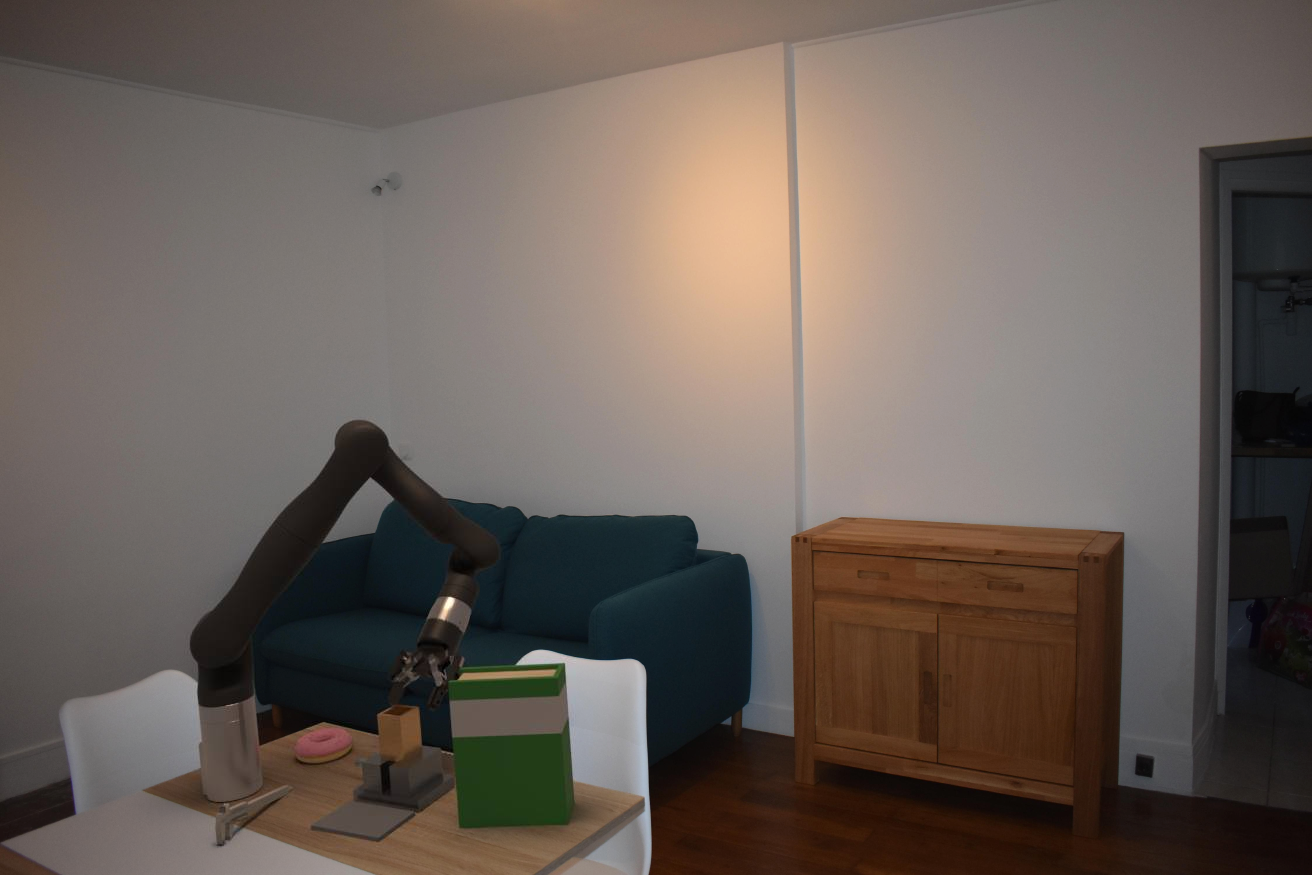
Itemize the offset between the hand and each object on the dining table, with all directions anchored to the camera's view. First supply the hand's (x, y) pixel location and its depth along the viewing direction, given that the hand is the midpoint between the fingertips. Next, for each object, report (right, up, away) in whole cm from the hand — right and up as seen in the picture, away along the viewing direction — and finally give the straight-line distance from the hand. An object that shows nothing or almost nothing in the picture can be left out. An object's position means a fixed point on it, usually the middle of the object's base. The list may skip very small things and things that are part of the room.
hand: (411, 706), depth 162 cm
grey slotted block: (-2, -15, -2) cm, 15 cm away
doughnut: (-22, -15, +18) cm, 32 cm away
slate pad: (-5, -15, -12) cm, 20 cm away
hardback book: (+21, -14, -13) cm, 29 cm away
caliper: (-24, -17, -7) cm, 30 cm away
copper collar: (-1, -8, -3) cm, 8 cm away
